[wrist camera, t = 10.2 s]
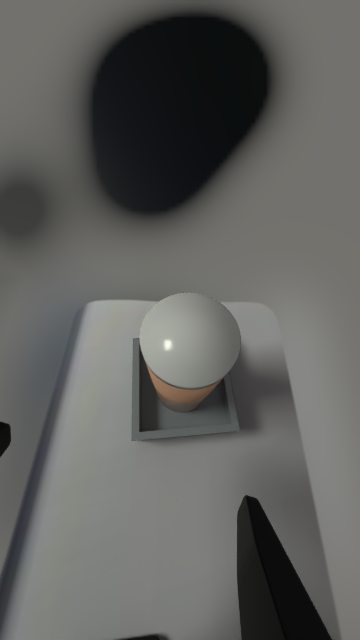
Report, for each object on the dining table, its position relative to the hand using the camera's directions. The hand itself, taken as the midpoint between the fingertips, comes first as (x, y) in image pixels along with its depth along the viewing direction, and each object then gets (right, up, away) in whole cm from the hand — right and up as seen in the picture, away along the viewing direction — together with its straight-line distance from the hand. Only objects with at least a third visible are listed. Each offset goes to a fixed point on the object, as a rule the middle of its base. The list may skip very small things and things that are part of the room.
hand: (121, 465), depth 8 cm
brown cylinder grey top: (+2, -1, +14) cm, 14 cm away
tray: (+2, -1, +15) cm, 15 cm away
